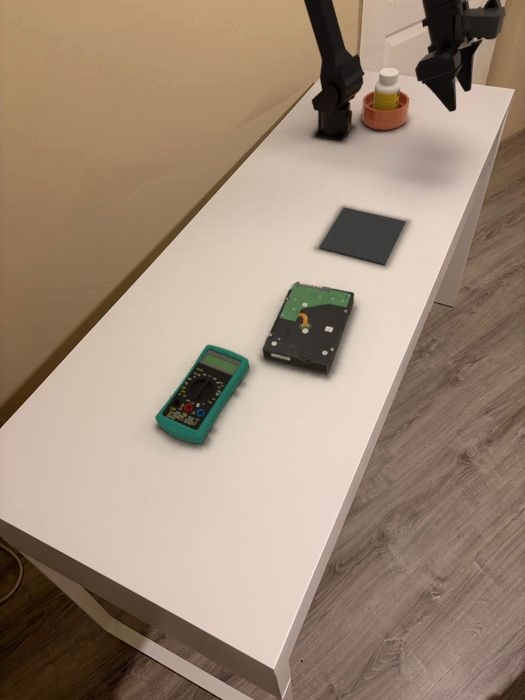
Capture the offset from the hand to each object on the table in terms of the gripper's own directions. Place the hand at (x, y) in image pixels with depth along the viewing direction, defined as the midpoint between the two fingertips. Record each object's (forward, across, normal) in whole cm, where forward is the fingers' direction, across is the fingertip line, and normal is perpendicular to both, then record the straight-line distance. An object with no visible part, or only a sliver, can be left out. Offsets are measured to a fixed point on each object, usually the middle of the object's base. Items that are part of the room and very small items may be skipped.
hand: (460, 100), depth 88 cm
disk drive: (+14, -48, +12) cm, 51 cm away
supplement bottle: (+4, +14, +22) cm, 26 cm away
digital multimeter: (+12, -65, +20) cm, 69 cm away
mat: (+12, -24, +13) cm, 29 cm away
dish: (+4, +14, +22) cm, 27 cm away
